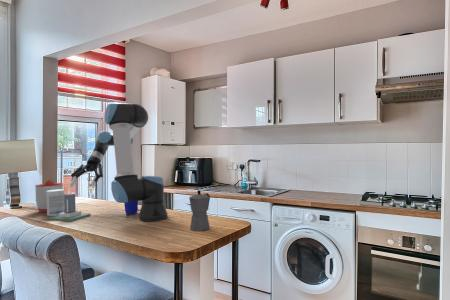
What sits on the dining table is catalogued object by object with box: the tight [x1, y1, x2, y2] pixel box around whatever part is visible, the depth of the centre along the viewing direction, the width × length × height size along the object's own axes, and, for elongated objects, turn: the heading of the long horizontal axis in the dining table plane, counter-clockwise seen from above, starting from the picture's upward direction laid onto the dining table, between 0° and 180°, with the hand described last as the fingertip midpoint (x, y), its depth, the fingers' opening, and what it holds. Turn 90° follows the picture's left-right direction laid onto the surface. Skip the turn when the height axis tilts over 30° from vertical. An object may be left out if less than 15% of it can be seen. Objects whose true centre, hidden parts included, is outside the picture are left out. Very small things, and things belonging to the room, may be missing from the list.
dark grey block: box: [64, 193, 77, 213], centre depth 171 cm, size 4×4×12 cm
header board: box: [48, 210, 92, 222], centre depth 171 cm, size 16×14×3 cm
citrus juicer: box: [34, 179, 64, 214], centre depth 193 cm, size 16×17×20 cm
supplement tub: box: [46, 188, 66, 217], centre depth 180 cm, size 10×10×15 cm
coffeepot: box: [188, 189, 211, 232], centre depth 142 cm, size 15×9×18 cm, turn 151°
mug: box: [124, 201, 141, 215], centre depth 178 cm, size 8×12×10 cm
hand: (81, 185), depth 180 cm, fingers open, 13 cm apart
